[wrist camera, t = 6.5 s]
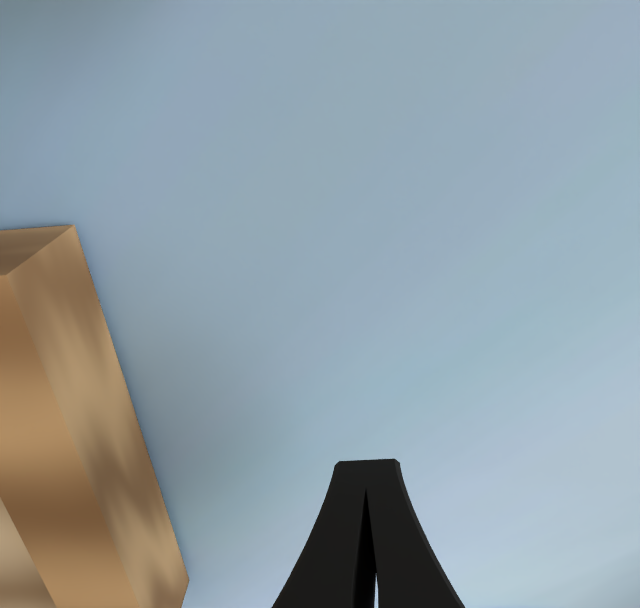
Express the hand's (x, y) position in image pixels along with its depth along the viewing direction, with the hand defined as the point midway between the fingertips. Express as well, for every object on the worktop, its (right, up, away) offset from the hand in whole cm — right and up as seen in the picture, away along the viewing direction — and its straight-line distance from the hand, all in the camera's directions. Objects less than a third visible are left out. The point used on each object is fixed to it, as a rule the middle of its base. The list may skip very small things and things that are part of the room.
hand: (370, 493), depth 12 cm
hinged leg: (-9, -1, +8) cm, 12 cm away
